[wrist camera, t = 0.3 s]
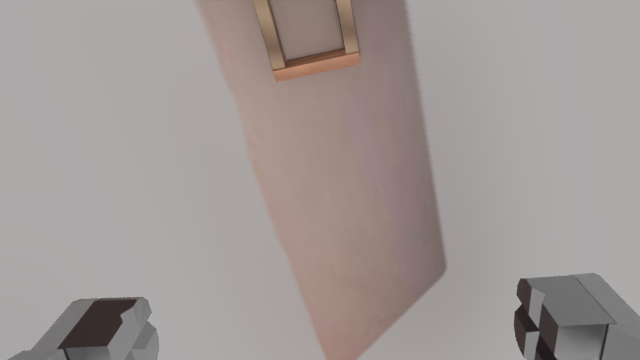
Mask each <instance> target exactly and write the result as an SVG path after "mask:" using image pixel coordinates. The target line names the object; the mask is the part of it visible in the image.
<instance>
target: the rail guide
mask: <svg viewBox="0 0 640 360" xmlns="http://www.w3.org/2000/svg"><path fill="white" fill-rule="evenodd" d="M253 3H254V6H255V9H256V13H257V16H258V19H259V23H260V26H261V30H262V33H263V36H264V40H265V43H266V47H267V50H268V53H269V57H270V60H271V64H272V67H273V73H274V76H275V79H276V82H279V81H283V80H288V79H292V78H297V77H302V76H306V75H311V74H316V73H320V72H325V71H329V70H334V69H339V68H343V67H348V66H353V65H357V64H361V62H360V56H359V51H358V45H357V39H356V33H355V27H354V21H353V15H352V9H351V3H350V0H336V3H337V8H338V13H339V19H340V24H341V30H342V35H343V41H344V46H345V48H343V49H338V50H334V51H329V52H325V53H320V54H316V55H311V56H307V57H302V58H298V59H293V60H289V61H286V60H285V57H284V53H283V49H282V46H281V42H280V38H279V35H278V31H277V27H276V24H275V20H274V16H273V13H272V9H271V6H270V2H269V0H253Z"/></svg>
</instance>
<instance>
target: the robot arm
mask: <svg viewBox="0 0 640 360" xmlns="http://www.w3.org/2000/svg"><path fill="white" fill-rule="evenodd" d="M517 296H518V298H519V300H520V301H521V303H522V304H521V306H520V307H519V308H518V309H517V310H516V311H515V315H514V330H515V337H516V341H517V343H518V347H519V349H520V351H521V353H522V355H523V357H524V358H526V359H527V360H640V316H639V315H638V314H637V313H636V312H635V311H634V310H633V309H632V308H631V307H630V306H629V305H628V304H627V303H626V302H625V301H624V300H623V299H622V298H621V297H620V296H619V295H618V294H617V293H616V292H615V291H614V290H613V289H612V288H611V287H610V286H609V284H608V283H606V282H605V280H604V279H603V278H602V277H601V276H600V275H597V274H595V273H586V274H575V275H574V274H573V275H569V276H554V277H536V278H521V279H520V280H519V283H518V286H517ZM151 313H152V312H151V309H150V306H149V303H148V300H147V299H145V298H144V297H127V298H126V297H124V298H100V299H98V298H95V299H94V298H93V299H79V300H76V301H73V302H72V303H71V304H70V305H69V306H68V308H67V309H66V310H65V311H64V312H63V313H62V315H61V316H60V317H59V318H58V319H57V320H56V322H55V323H54V324H53V325H52V326H51V327H50V329H49V330H48V331H47V332H46V333H45V334H44V335H43V337H42V338H41V339H40V340H39V341H38V342H37V343H36V345H35V346H34V347H33V348H32V349H31V350H30V351H22V352H20V353H19V354H17V355H15V356H13V357H11V358H10V359H8V360H157V356H158V351H159V341H158V334H157V330H156V328H155V327H154V326H153V325H151V324H150V323H149V322H148V321H147V320H148V318H149V316H150V314H151Z"/></svg>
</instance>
